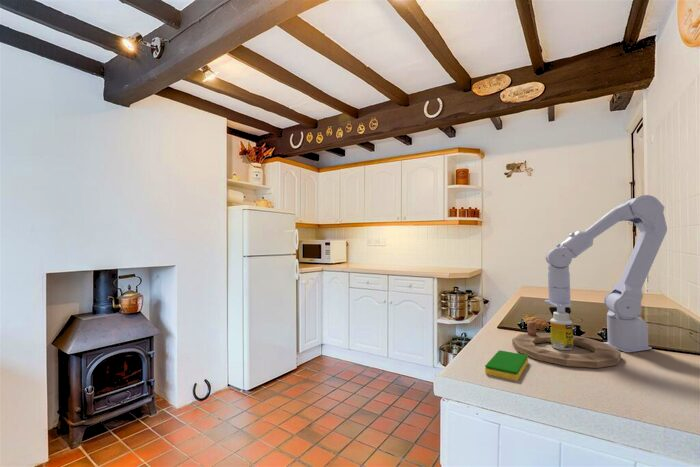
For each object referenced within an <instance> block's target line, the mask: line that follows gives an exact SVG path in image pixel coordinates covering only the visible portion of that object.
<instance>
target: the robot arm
mask: <svg viewBox="0 0 700 467" xmlns="http://www.w3.org/2000/svg"><path fill="white" fill-rule="evenodd" d="M664 212H665V205H663V204H662V202H661V201H660V199H658V198H657V197H655V196H654V195H649V194H644V195H639V196H638V197H635V198H628V199H626V200H625V201H624V202H622V203H620V204H618V205H617V206H615V207H613V208H611V210H609V211H607V213H605V214H603V216H601V217H600V218H599V219H598V220H596V221H595V222H594V223H593V224H592V225H590V226H589V227H588V228H586V229H585V230H581V231H580V230H577V231H575V232H571V233H568V237H567V238H566V239H565V240H564V241H562V242H561V243H556V245H555V246H556V247H555V248H551V249H550V250H549V251H547V253H546V256H545V260H546V263H548V264H547V265H548V266H547V269H548V271H547V281H548V283H547V284H548V286H547V290H548V299H544V303H545V304H549V305H551V306H549V307H548V310H549V312H550V313H551V316H552V317H553V312H566V313H569V315H570V314H571V313H572V310H571V307H570V306H572V302H571V301H572V300H571V274H570V265H571V263H572V261H573V259H575V258H578V256H579V255H581V254H583V253H584V252H586V251H587V250H588V249H589V248H591V247H592V246H593V245H594V239H596V238H597V237H598V236H600V235H601V234H603V233H604V232H605V231H607V230H609V229H610V228H611V227H614V226H615V225H616V224H618V223H619V222H623V221H628V220H629V221H631V222H632V223H633V224H634V226H636V228H637V230H639V231H640V233H639V235H638V238H637V239H636V242H635V244H634V246H633V249H632V251H631V254H630V256H629V258H628V261H627V263H626V265H625V268H624V270H623V272H622V274H621V277H620V279H619V280H618V282H617V283H616V284H615V285H613V288H612V290H611V291H610V292H609V293H606V295H605V297H604V299H603V302H604V306H605V307H606V308H607V309H608V311H607V313H606V324H607V325H606V327H607V331H606V332H607V341H603V343H606V344H609V345H610V346H612V347H613V348H615V349H617V350H618V351H620V352H621V351H622V352H624V353H636V352H642V351H648V350H652V347H651V346H649V331H648V325H647V323H646V321H645V320H644V318H642V317H640V316H639V315H640V314H641V312H642V310H643V308H642V299H643V298H644V296H643V291H642V290H643V286H644V283H645V282H646V279H647V276H648V275H649V272H650V270H651V268H652V266H653V263H654V261H655V259H656V257H657V255H658V253H659V250H660V247H661V245H662V243H663V241H664V239H665V236H666V234H667V232H668V226H667V222H666V217H665V213H664Z"/></svg>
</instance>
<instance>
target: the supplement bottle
mask: <svg viewBox="0 0 700 467" xmlns="http://www.w3.org/2000/svg"><path fill="white" fill-rule="evenodd" d="M549 322H550V324H549V325H550V326H551V327H550V333H551V342H550V346H551V348H554V349H557V350H560V351H571V350H573V349H574V345H573V336H574V327H573V326H574V324H573V321H572V319H570V314H569V313H566V312H553V316H552V318H550V321H549Z"/></svg>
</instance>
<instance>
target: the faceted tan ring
mask: <svg viewBox="0 0 700 467" xmlns="http://www.w3.org/2000/svg"><path fill="white" fill-rule="evenodd" d="M526 327H527V328H526V329H527V333H522V334H517V335H516V336H515V337H514V338H512V341H511V343H512V346H513V347H514V348H515V350H516V351H517V353H519V354H524V355H527V356H528V357H530V358H532V359H535V360H537V361H542V362H547V363H552V364H557V365H562V366H566V367H581V368H593V369H594V368H595V369H599V368H604V367H612V366H617V365H618V364H619V362H620V360H621V356H622V355H621V354H622V353H621V350H617V349H615V348H613V347H612V346H610V345H609V344H606V343H603V342H604V341H603V342H602V341H599V340H595V339H592V338H589V337H585V336H578V335H573V346H577V347H580V348H584V349H587V350H589V351H591V352H590V353H581V354H579V353H564V352H560V351H559V352H558V351H554V350H549V349H546V348H543V347H540V346H538V345H536V344H540V343H542V344H543V343H551V332H538V331H537V330H536V322H534V321H527V326H526Z"/></svg>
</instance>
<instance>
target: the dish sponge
mask: <svg viewBox="0 0 700 467" xmlns="http://www.w3.org/2000/svg"><path fill="white" fill-rule="evenodd" d="M528 363H529V356H527V355H525V354H523V353H519V352H512V351H506V350H501V349H499V350H498V351H497V352H496V353H495V354H494V355H493V356H492V358H490V359H489V361H488V362H487V363H486V364H485V365H484V371H485V373H486V375H488V374H489V375H488V376H492V375H493V376H494V377H497V378H502V379H507V380H510V381H511V380H512V381H517V382H518V380H519V379H520V378H521V376H522V374H523V372H524V371H525V369H526V368H527V365H528Z"/></svg>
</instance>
